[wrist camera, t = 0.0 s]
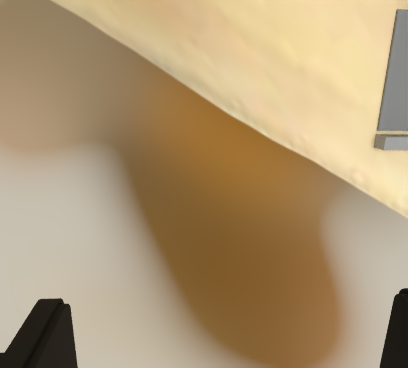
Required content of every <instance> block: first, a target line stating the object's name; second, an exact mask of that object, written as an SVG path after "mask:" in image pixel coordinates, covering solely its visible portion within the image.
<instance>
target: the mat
mask: <svg viewBox="0 0 408 368" xmlns="http://www.w3.org/2000/svg"><path fill="white" fill-rule="evenodd" d="M377 130H378V131H408V10H401V9H398V10H397V12H396V18H395V24H394V31H393V37H392V43H391V49H390V55H389V61H388V67H387V73H386V79H385V85H384V91H383V97H382V103H381V109H380V115H379V121H378V127H377ZM374 147H376V148H379V149H382V150H408V135H382V134H376V139H375V145H374Z"/></svg>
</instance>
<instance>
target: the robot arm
mask: <svg viewBox="0 0 408 368" xmlns="http://www.w3.org/2000/svg"><path fill="white" fill-rule="evenodd" d="M0 368H78V367H77V359H76V351H75V342H74V333H73V325H72V317H71V308H70V305H69V304H64V302H63V300H62V299H61V298H60V299H40V300H38V302H37V303H36V304H35V306H34V308H33V309H32V311H31V313H30V314H29V315H28V317H27V319H26V320H25V322H24V323H23V325H22V327H21V328H20V329H19V331H18V333H17V334H16V336H15V337H14V339H13V341H12V342H11V344H10V345H9V347H8V348H7V350H6V351H5V353H0ZM380 368H408V288H404V289H402V290H400V292H399V294H397V295H395V297H394V301H393V306H392V311H391V315H390V320H389V325H388V329H387V334H386V339H385V344H384V348H383V353H382V358H381V363H380Z"/></svg>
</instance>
